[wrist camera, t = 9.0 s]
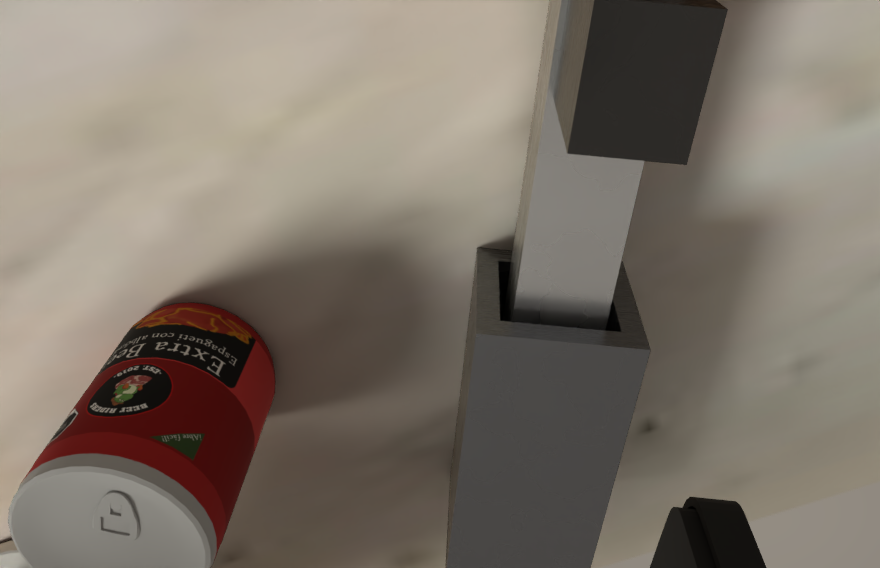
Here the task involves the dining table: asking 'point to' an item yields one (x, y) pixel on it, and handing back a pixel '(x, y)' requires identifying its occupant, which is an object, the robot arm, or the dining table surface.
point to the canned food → (151, 448)
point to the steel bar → (602, 144)
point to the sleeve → (539, 429)
